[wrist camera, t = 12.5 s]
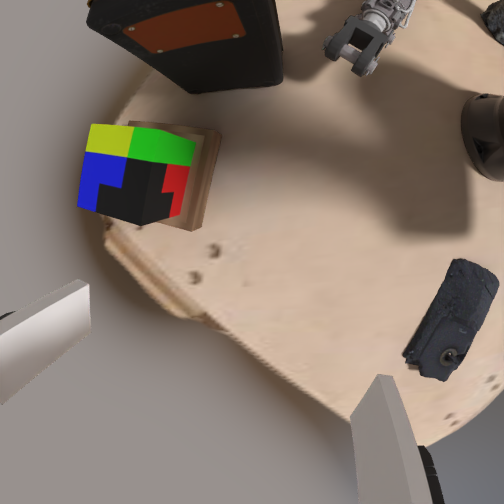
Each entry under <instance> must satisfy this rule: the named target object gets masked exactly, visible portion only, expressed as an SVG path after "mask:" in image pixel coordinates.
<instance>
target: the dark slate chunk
mask: <svg viewBox="0 0 504 504" xmlns="http://www.w3.org/2000/svg"><path fill="white" fill-rule="evenodd" d="M498 287H499V280H498V279H497V277H496V276H495V275H494V274H493V273H491V272H490V271H489V270H488V269H486V268H483V267H481V266H480V265H478V264H476V263H472V262H468V261H467V260H466V259H459V260H456V259H454V260H453V261H452V263H451V266H450V267H449V269H448V271H447V273H446V276H445V280H444V281H443V283H442V284H441V287H440V288H439V290H438V293H437V295H436V296H435V298H434V300H433V302H432V304H431V306H430V308H429V309H428V312H427V314H426V316H425V317H424V319H423V321H422V323H421V324H420V327H419V329H418V330H417V332H416V334H415V336H414V338H413V339H412V341H411V343H410V344H409V345H408V347H407V349H406V351H405V352H404V354H403V357H404V358H406V362H405V363H408V364H413V365H419V372H420V375H421V376H424V377H429V378H436V379H438V380H439V381H443V382H445V381H446V380H447V379H448V378H449V376H450V374H451V373H452V372H453V371H454V370H456V369H457V368H458V366H459V365H460V364H461V363H462V361H463V359H464V358H465V356H466V354H467V352H468V350H469V348H470V346H471V344H472V342H473V339H474V337H475V335H476V333H477V331H479V330H480V328H481V326H482V324H483V322H484V320H485V317H486V315H487V313H488V311H489V308H490V306H491V303H492V301H493V299H494V298H495V295H496V293H497V290H498ZM449 353H451V355H450V354H449Z"/></svg>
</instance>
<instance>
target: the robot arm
mask: <svg viewBox="0 0 504 504" xmlns="http://www.w3.org/2000/svg"><path fill="white" fill-rule="evenodd" d="M461 127H462V134H463V139H464V143H465V146H466V149H467V151H468V154H469V156H470V158H471V160H472V161H473V163H474V164H475V166H476V167H477V169H478V170H479V171H480V172H481V173H482V174H483V175H484V176H486V177H487V178H489V179H491V180H493V181H501V182H504V96H501V95H494V94H486V93H485V94H479V95H477V96H474V97H472V98H470V99H469V100H468V101H467V102H466V104H465V106H464V108H463V111H462V118H461ZM90 333H91V321H90V302H89V284H88V283H85V282H83V281H81V280H79V279H77V280H75V281H73V282H71V283H69V284H67V285H65V286H63V287H61V288H59V289H57V290H55V291H53V292H51V293H49V294H47V295H45V296H43V297H42V298H40V299H38V300H36V301H34V302H32V303H30V304H28V305H27V306H25V307H23V308H21V309H19V310H17V311H14V312H10V313H6V314H4V315H2V316H1V317H0V403H1V404H2V405H3V404H4V403H5V402H6V401H7V400H9V399H10V398H11V397H12V396H13V395H14V394H16V393H17V392H18V391H19V390H20V389H22V388H23V387H24V386H25V385H26V384H28V383H29V382H30V381H31V380H32V379H34V378H35V377H36V376H37V375H38V374H40V373H41V372H42V371H43V370H44V369H45V368H47V367H48V366H49V365H51V364H52V363H53V362H54V361H56V360H57V359H58V358H59V357H61V356H62V355H63V354H64V353H66V352H67V351H68V350H69V349H71V348H72V347H73V346H75V345H76V344H77V343H78V342H80V341H81V340H82V339H84V338H85V337H86V336H87V335H89V334H90ZM350 420H351V428H352V435H353V444H354V452H355V460H356V472H357V484H358V497H359V504H445V503H444V499H443V495H442V491H441V487H440V484H439V480H438V477H437V476H436V474H437V473H436V470H435V468H434V463H433V460H432V457H431V455H430V453H429V452H428V451H427V449H426V448H425V447H424V445H423V446H417V443H416V440H415V437H414V434H413V431H412V428H411V425H410V422H409V419H408V416H407V413H406V410H405V408H404V405H403V402H402V399H401V397H400V394H399V391H398V389H397V386H396V384H395V381H394V379H393V376H388V375H382V374H377V376H376V378H375V379H374V381H373V382H372V384H371V386H370V387H369V389H368V390H367V392H366V394H365V395H364V397H363V398H362V400H361V401H360V403H359V404H358V406H357V407H356V409H355V410H354V411H353V413H352V414H351V416H350Z"/></svg>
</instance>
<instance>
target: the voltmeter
mask: <svg viewBox="0 0 504 504" xmlns="http://www.w3.org/2000/svg"><path fill="white" fill-rule="evenodd" d="M87 5H88V7H89V8H90V10H89V14H88V17H87V21H86V23H87V26H88V27H89V28H91V29H92V30H94V31H96V32H98V33H99V34H101V35H103V36H104V37H106V38H108V39H110V40H111V41H113V42H114V43H116V44H118V45H119V46H121V47H123V48H124V49H126V50H127V51H129V52H131V53H132V54H134V55H135V56H137V57H138V58H140V59H141V60H143V61H144V62H146V63H147V64H149V65H150V66H152V67H153V68H155V69H156V70H157V71H159V72H160V73H162V74H163V75H165V76H166V77H167V78H169V79H170V80H172V81H173V82H174V83H176V84H177V85H179V86H180V87H181V88H183V89H184V90H185V91H187V92H188V93H190V94H199V93H203V92H210V91H217V90H225V89H234V88H245V87H258V86H275V85H278V84H280V83H281V82H282V81H283V66H282V51H283V45H282V38H281V32H280V26H279V20H278V14H277V8H276V3H275V0H88V3H87Z"/></svg>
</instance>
